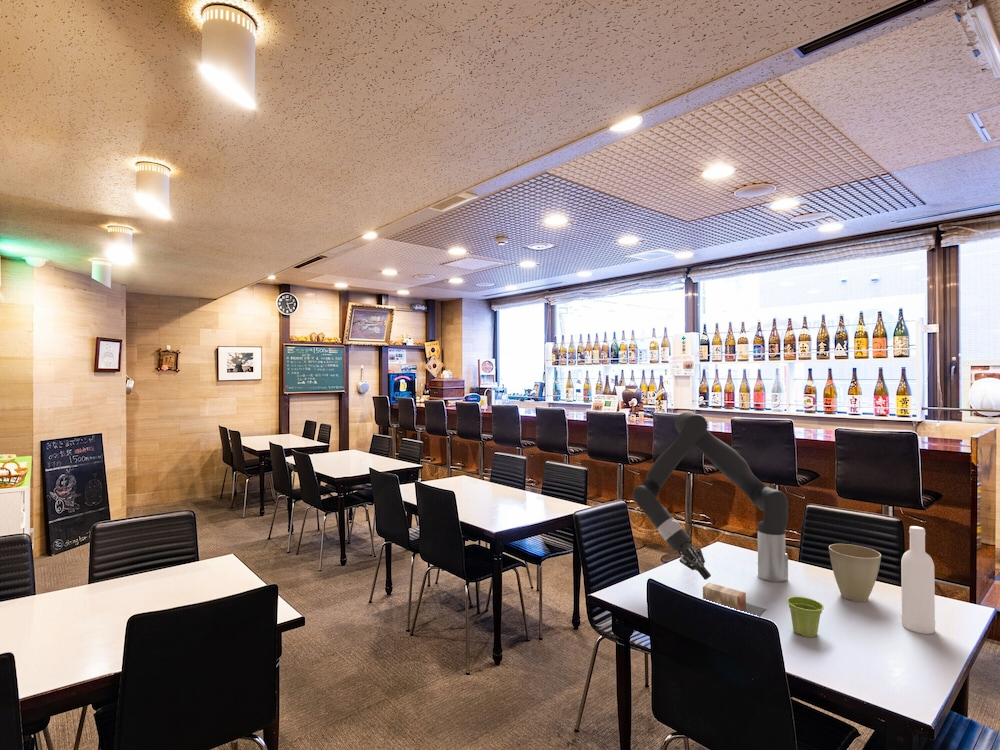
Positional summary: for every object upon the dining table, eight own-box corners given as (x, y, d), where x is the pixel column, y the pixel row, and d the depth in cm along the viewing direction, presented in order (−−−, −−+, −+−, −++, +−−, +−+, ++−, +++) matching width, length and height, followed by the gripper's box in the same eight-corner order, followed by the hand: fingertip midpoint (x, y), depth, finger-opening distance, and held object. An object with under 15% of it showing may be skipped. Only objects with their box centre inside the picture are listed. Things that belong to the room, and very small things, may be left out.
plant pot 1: (814, 625, 159) (813, 596, 159) (830, 641, 150) (830, 610, 150) (781, 624, 160) (781, 595, 160) (796, 639, 151) (795, 609, 151)
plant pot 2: (863, 610, 169) (863, 560, 170) (819, 593, 183) (818, 547, 183) (892, 601, 176) (891, 553, 176) (846, 585, 189) (846, 541, 189)
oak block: (702, 586, 176) (739, 597, 167) (709, 582, 179) (745, 592, 171) (702, 601, 176) (740, 613, 167) (709, 597, 179) (745, 608, 171)
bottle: (926, 636, 152) (925, 532, 152) (896, 625, 159) (895, 526, 159) (940, 630, 156) (939, 528, 156) (910, 619, 163) (909, 522, 163)
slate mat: (699, 607, 172) (699, 606, 172) (716, 595, 182) (716, 594, 182) (751, 623, 161) (751, 622, 161) (765, 609, 170) (765, 608, 170)
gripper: (671, 532, 179) (707, 577, 170) (689, 524, 188) (724, 566, 180) (657, 544, 183) (692, 589, 174) (675, 535, 192) (708, 578, 183)
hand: (708, 577), depth 177 cm, fingers closed
